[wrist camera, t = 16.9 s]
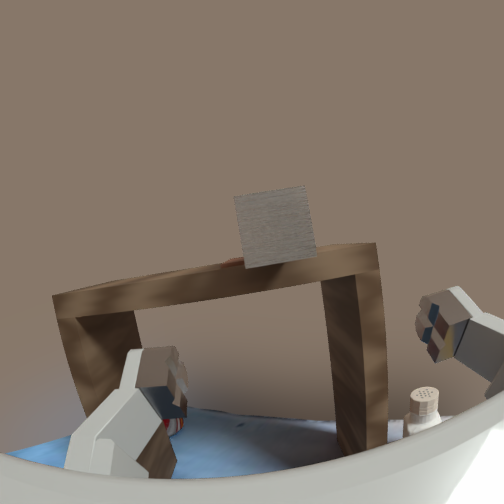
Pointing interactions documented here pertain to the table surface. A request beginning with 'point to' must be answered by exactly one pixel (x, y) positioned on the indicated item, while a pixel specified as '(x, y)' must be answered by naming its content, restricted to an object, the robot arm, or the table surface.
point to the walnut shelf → (232, 284)
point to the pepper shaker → (422, 411)
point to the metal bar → (275, 226)
